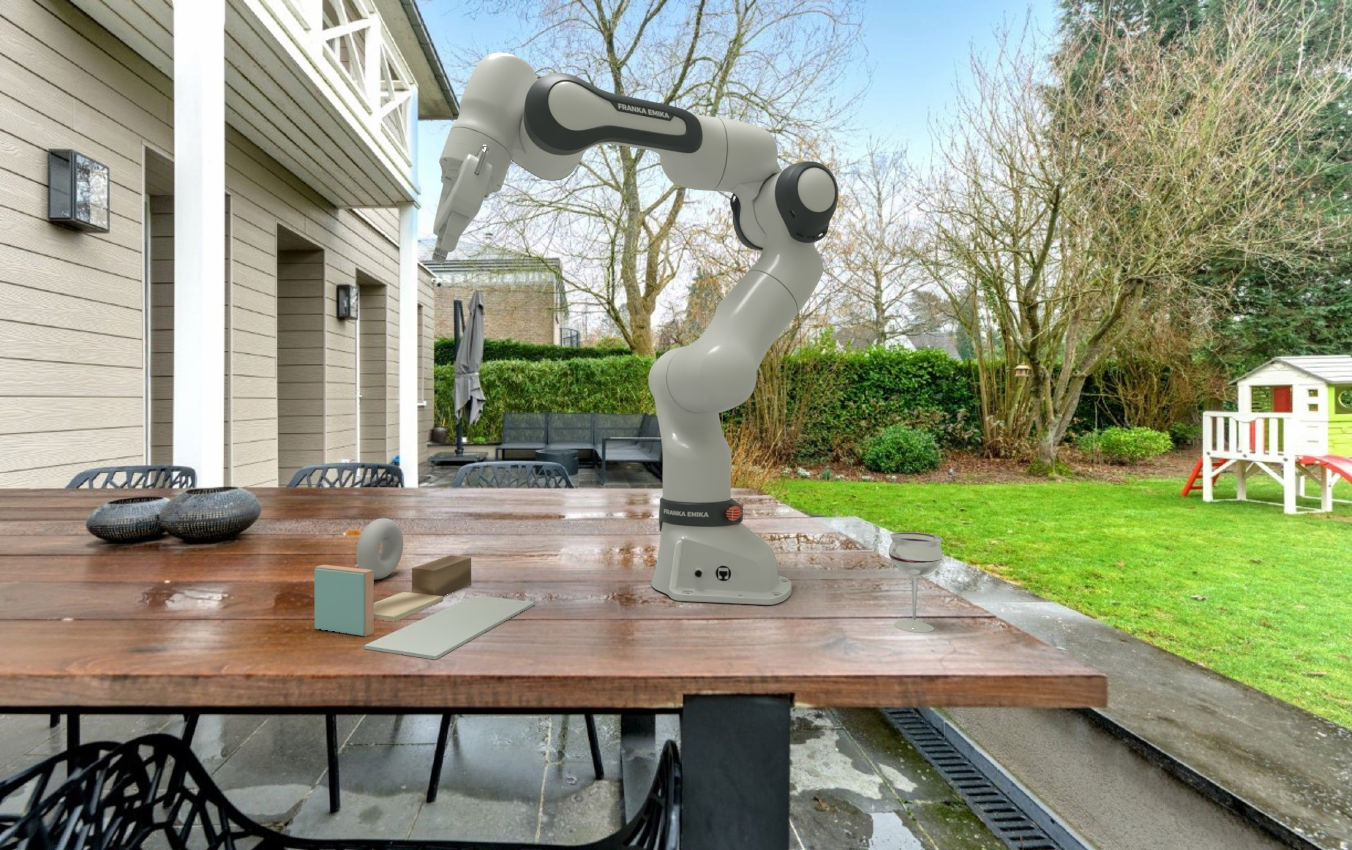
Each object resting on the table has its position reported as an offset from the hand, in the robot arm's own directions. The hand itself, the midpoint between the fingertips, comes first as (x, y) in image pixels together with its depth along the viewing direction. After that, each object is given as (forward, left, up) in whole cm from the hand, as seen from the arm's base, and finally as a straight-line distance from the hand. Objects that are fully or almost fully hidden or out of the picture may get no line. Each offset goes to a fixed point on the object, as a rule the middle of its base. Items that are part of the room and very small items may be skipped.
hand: (441, 256), depth 91 cm
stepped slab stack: (+6, -3, -50) cm, 50 cm away
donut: (+20, -10, -50) cm, 54 cm away
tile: (+6, +12, -50) cm, 51 cm away
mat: (-6, +5, -49) cm, 50 cm away
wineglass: (-63, -15, -50) cm, 82 cm away
